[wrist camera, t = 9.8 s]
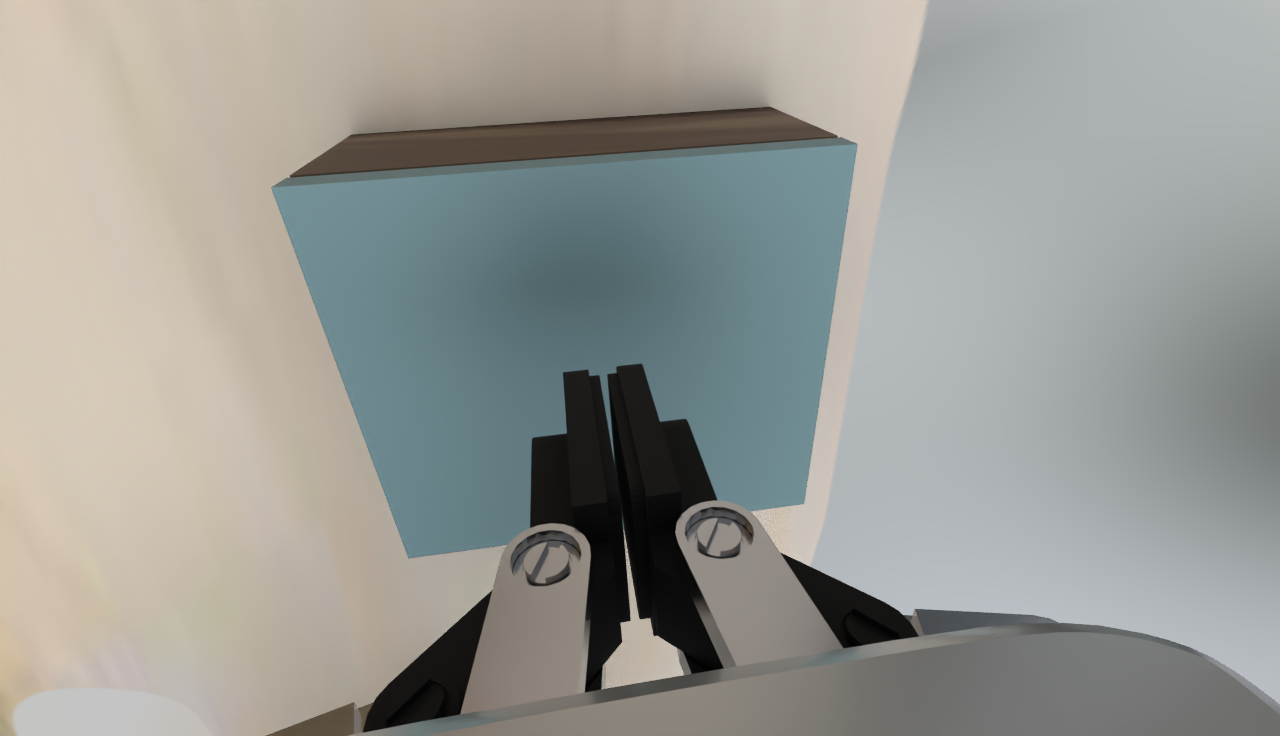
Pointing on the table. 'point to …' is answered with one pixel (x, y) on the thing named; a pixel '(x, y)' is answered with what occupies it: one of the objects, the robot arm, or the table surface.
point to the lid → (575, 314)
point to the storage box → (559, 140)
